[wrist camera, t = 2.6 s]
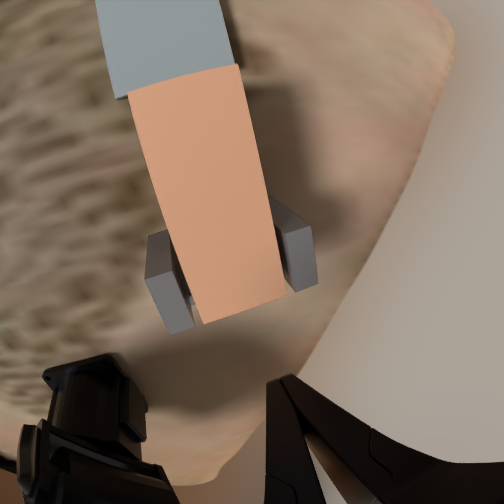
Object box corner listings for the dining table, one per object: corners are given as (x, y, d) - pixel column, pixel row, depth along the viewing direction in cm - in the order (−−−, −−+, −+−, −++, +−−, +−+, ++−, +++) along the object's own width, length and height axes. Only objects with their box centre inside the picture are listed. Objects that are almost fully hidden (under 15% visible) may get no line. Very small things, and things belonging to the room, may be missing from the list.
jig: (170, 292, 18) (176, 347, 13) (111, 120, 13) (87, 118, 9) (283, 255, 19) (319, 296, 15) (246, 82, 14) (281, 67, 10)
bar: (197, 300, 15) (203, 324, 13) (132, 97, 11) (127, 92, 9) (273, 275, 16) (287, 295, 14) (226, 72, 11) (237, 63, 9)
